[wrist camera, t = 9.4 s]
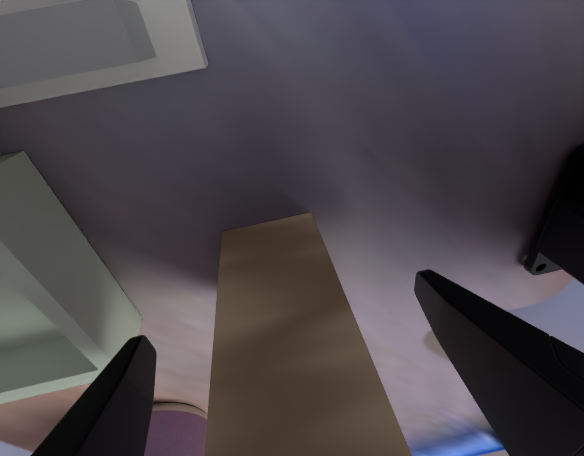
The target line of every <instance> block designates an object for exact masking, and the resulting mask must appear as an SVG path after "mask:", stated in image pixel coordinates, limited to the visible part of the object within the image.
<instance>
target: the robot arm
mask: <svg viewBox="0 0 584 456" xmlns="http://www.w3.org/2000/svg"><path fill="white" fill-rule="evenodd" d="M524 268H525V269H526V270H527V271H528V272H529V273H531V274H532V275H540V274H544V273H549V272H553V271H557V270H561V269H563V270H564V271H565V272H567V273H568V274H570V275H571V276H572V277H574V278H575V279H577V280H578V281H579V282H581V283H582V284H583V285H584V144H582V145H580V146H578V147H577V148H576V149H574V151H573V152H572V153H571V154H570V156H569V157H568V159H567V162H566V164H565V167H564V169H563V171H562V174H561V176H560V179H559V181H558V184H557V186H556V189H555V191H554V193H553V196H552V198H551V201H550V203H549V206H548V208H547V211H546V213H545V215H544V218H543V220H542V223H541V225H540V228H539V230H538V233H537V235H536V237H535V240H534V242H533V245H532V247H531V250H530V252H529V255H528V257H527V259H526V262H525V264H524ZM414 291H415V295H416V297H417V299H418V301H419V303H420V305H421V307H422V310H423V312H424V314H425V316H426V318H427V320H428V322H429V324H430V326H431V328H432V330H433V332H434V334H435V336H436V338H437V339H438V341H439V343H440V345H441V346H442V348H443V350H444V351H445V353H446V354H447V356H448V358H449V359H450V361H451V363H452V364H453V366H454V367H455V369H456V371H457V372H458V374H459V375H460V377H461V379H462V380H463V382H464V384H465V385H466V387H467V388H468V390H469V392H470V393H471V395H472V396H473V398H474V400H475V401H476V403H477V404H478V406H479V408H480V409H481V411H482V413H483V414H484V416H485V417H486V419H487V421H488V422H489V424H490V425H491V427H492V429H493V430H494V432H495V434H496V435H497V437H498V438H499V440H500V442H501V443H502V445H503V446H504V448H505V450H506V451H507V453H508V454H509V456H584V353H583V352H581V351H579V350H577V349H575V348H573V347H571V346H569V345H567V344H565V343H564V342H562V341H560V340H558V339H557V338H555V337H553V336H549V334H547V333H545V332H544V331H542V330H540V329H538V328H536V327H534V326H532V325H531V324H529V323H527V322H525V321H523V320H522V319H520V318H518V317H516V316H514V315H513V314H511V313H509V312H507V311H505V310H503V309H502V308H500V307H498V306H496V305H494V304H492V303H491V302H489V301H487V300H485V299H483V298H481V297H480V296H478V295H476V294H474V293H472V292H471V291H469V290H467V289H465V288H463V287H461V286H460V285H458V284H456V283H454V282H452V281H450V280H449V279H447V278H445V277H443V276H441V275H439V274H438V273H436V272H434V271H432V270H429V269H427V270H422V271H418V272H417V273H416V278H415V287H414ZM155 371H156V350H155V348H154V347H153V345H152V344H151V343H150V341H149V340H148V339H147V337H146V336H144V335H140V336H135V337H132V338H130V339H129V340H128V341H127V342H126V343H125V344H124V345H123V347H122V348H121V349H120V350H119V351H118V352H117V354H116V355H115V356H114V357H113V358H112V360H111V361H110V362H109V363H108V364H107V366H106V367H105V368H104V369H103V370H102V372H101V373H100V374H99V375H98V376H97V377H96V379H95V380H94V381H93V382H92V383H91V385H90V386H89V387H88V388H87V389H86V391H85V392H84V393H83V394H82V395H81V396H80V398H79V399H78V400H77V401H76V402H75V404H74V405H73V406H72V407H71V408H70V410H69V411H68V412H67V413H66V414H65V415H64V417H63V418H62V419H61V420H60V421H59V423H58V424H57V425H56V426H55V427H54V429H53V430H52V431H51V432H50V433H49V435H48V436H47V437H46V438H45V439H44V440H43V442H42V443H41V444H40V445H39V446H38V448H37V449H36V450H35V451H34V452H33V454H32V455H31V456H144V454H145V448H146V443H147V437H148V431H149V425H150V420H151V414H152V408H153V399H154V386H155Z"/></svg>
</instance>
